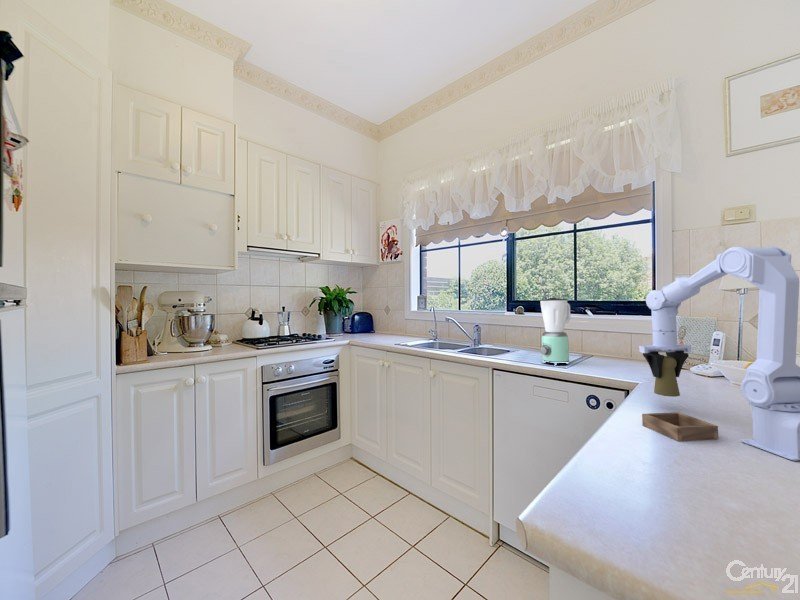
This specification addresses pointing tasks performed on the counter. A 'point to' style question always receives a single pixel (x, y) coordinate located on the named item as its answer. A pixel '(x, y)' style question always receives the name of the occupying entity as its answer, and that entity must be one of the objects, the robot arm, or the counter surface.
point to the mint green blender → (555, 330)
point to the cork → (667, 379)
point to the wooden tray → (680, 426)
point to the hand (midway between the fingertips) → (666, 376)
